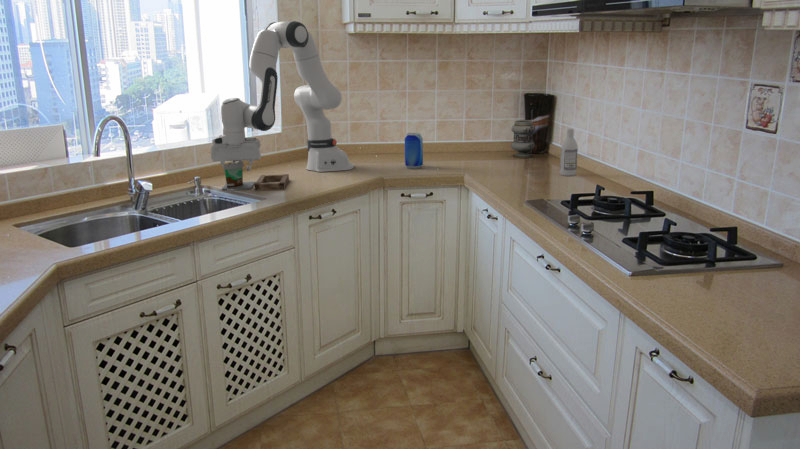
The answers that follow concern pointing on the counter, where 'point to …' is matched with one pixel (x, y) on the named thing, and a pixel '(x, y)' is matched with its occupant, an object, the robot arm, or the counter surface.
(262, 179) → the pocket frame
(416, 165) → the beer can
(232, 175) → the food container
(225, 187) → the mat
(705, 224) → the counter surface
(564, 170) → the bath foam
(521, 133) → the apothecary jar
